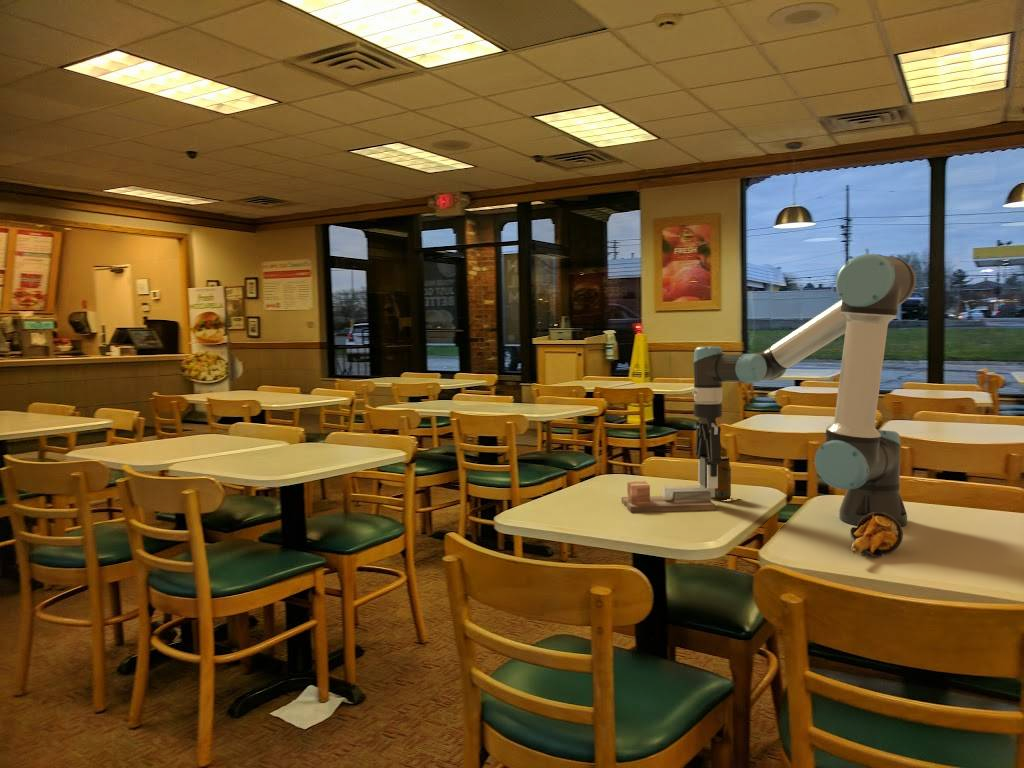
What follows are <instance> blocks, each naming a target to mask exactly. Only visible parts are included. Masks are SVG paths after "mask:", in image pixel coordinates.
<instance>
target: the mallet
mask: <svg viewBox="0 0 1024 768" xmlns="http://www.w3.org/2000/svg"><path fill="white" fill-rule="evenodd" d="M707 462H708V456H707V457H700V483H699V484H698V485H670V486H667V485H666V486H665V485H664V486H663V485H662V486H661V492H662V493H661V496H662V497H663V498H665V499H671V498H674V493H691V492H711V497H715V488H707V465H706V463H707Z"/></svg>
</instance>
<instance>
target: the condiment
mask: <svg viewBox="0 0 1024 768" xmlns="http://www.w3.org/2000/svg"><path fill="white" fill-rule="evenodd" d="M730 464H731V462H730V457H728V456H723V455H721V463H719V464H718V488H715V497H711V500H712V501H718V502H721V501H720V500H727V499H730V497H732V493H731V492H732V468H731V465H730ZM733 497H734V498H738V497H736V496H733ZM724 503H731V502H730V501H729V502H728V501H724Z"/></svg>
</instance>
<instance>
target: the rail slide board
mask: <svg viewBox="0 0 1024 768" xmlns="http://www.w3.org/2000/svg"><path fill="white" fill-rule="evenodd" d="M626 485H627V486H626V487H627V488H626V489H627V490H626V491H627V493H626V496H622V497H621V503H622V505H623V504H624V505H625V506H626V507H627V508H626V507H625V506H624V505H623V506H624V507H625V508H626V509H627V510H628V511H629V512H630V513H652V512H651V511H656V513H658V512H657V511H662V512H688V511H687V510H691V511H715V510H716V504H715V503H714V502H712V501H711V492H691V493H674V498H671V499H665V498H663V497H662V495H655V496H654V495H651V485H650V484H649V483H648V482H647V481H645V480H636V481H635V480H634V481H631V480H629V481H626ZM691 511H690V512H691Z"/></svg>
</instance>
